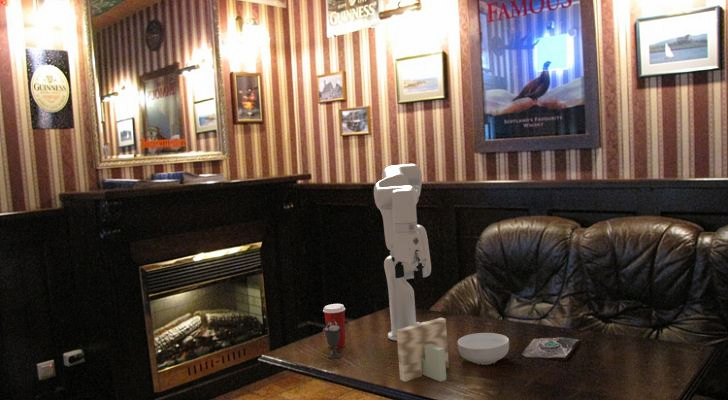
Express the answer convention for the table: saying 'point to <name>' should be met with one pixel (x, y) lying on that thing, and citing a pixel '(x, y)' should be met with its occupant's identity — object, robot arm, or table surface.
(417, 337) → the maple plate
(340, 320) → the coffee cup
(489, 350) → the cereal bowl
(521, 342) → the table surface
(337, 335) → the sundae
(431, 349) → the sage board
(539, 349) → the terrain model
